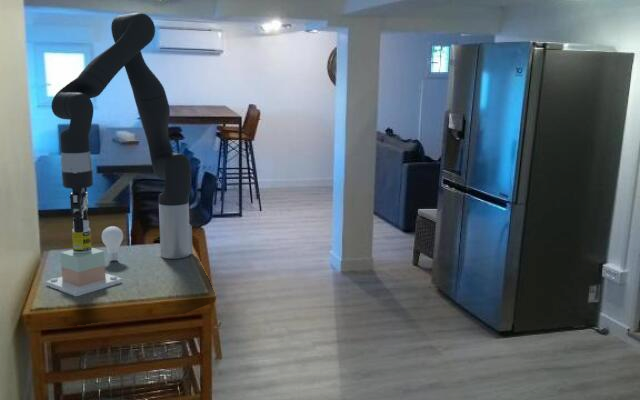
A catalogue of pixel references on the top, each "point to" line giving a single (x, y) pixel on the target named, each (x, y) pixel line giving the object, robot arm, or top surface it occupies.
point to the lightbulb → (112, 241)
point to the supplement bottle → (82, 239)
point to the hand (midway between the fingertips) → (81, 228)
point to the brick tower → (83, 273)
